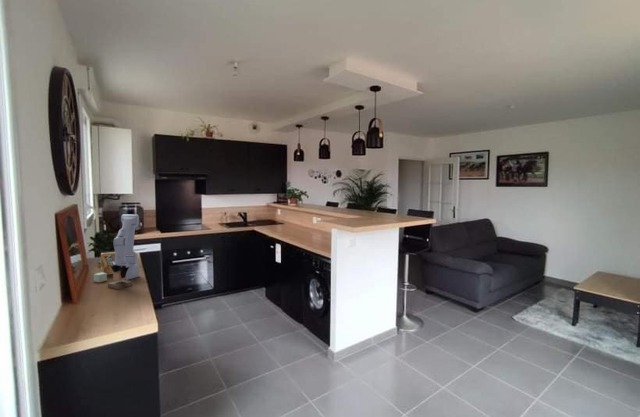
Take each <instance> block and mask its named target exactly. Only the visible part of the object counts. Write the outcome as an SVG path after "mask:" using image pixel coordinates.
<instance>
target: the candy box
mask: <svg viewBox="0 0 640 417" xmlns="http://www.w3.org/2000/svg"><path fill="white" fill-rule="evenodd" d="M112 261H115V251H114V252H113V251H112V252H101V253H100V273H101V272H103V273H107V276H108V275H113V270H112V268H111V266H113V265H111V262H112Z"/></svg>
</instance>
